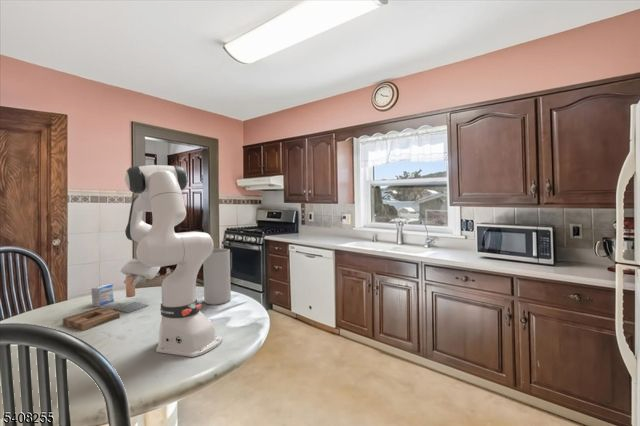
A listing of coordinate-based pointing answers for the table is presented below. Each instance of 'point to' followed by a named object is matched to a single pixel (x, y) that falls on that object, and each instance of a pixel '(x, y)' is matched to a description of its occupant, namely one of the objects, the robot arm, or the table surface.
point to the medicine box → (102, 295)
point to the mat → (130, 307)
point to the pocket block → (90, 318)
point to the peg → (130, 287)
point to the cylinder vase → (217, 277)
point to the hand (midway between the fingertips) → (129, 284)
